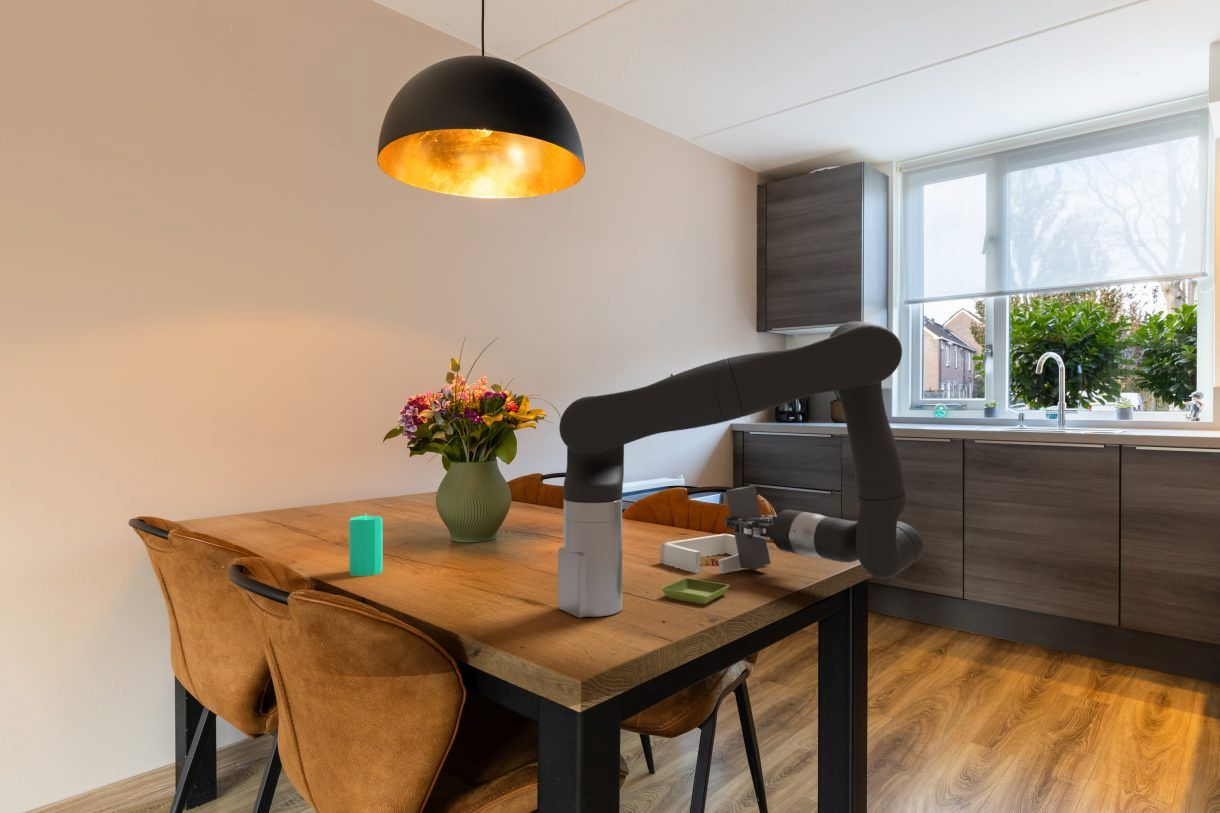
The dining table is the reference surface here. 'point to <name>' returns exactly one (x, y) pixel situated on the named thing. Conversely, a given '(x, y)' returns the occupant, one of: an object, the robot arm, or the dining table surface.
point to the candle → (365, 546)
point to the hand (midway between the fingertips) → (735, 520)
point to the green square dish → (695, 590)
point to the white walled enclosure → (696, 550)
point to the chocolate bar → (710, 561)
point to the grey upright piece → (749, 550)
